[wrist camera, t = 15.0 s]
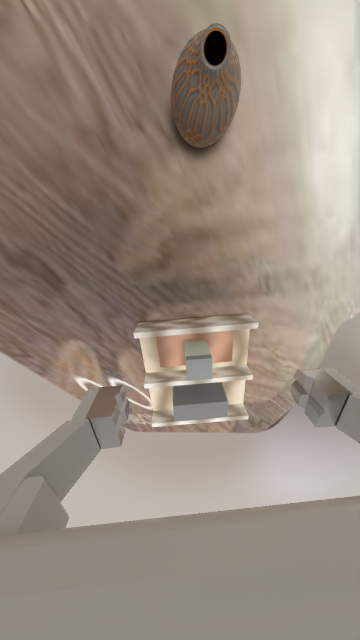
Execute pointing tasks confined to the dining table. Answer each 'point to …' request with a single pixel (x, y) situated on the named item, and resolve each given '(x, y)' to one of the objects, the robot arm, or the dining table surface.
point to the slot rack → (170, 368)
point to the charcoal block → (199, 401)
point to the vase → (206, 87)
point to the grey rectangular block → (197, 360)
